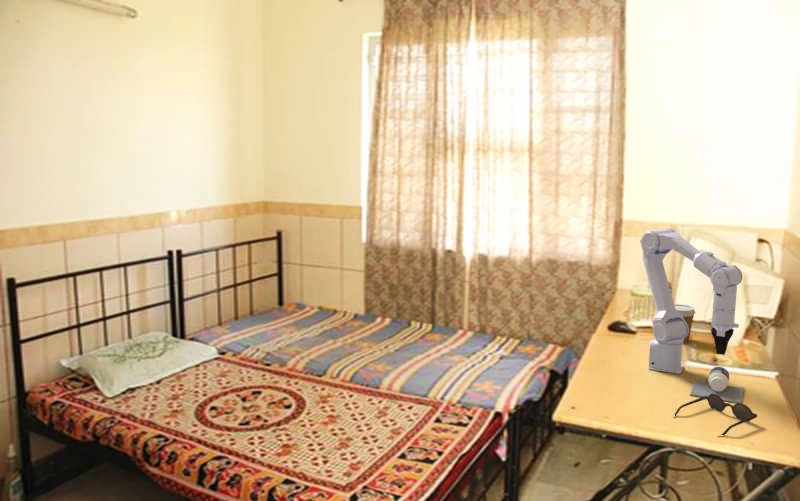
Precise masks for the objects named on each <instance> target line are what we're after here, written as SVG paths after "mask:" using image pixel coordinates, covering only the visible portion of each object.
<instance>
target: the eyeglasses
mask: <svg viewBox="0 0 800 501" xmlns="http://www.w3.org/2000/svg"><path fill="white" fill-rule="evenodd" d="M704 400H706V401H707V403H708V405H709V407H710V408H711V409H713V410H715V409H716V410H715V411H717V410H718V411H717V412H719V411H720V413H723V411H724V410H725V409H726V407H730V408H731V411H732V414H733V416H734V417H735V418H737V419H740V421H737V422H735V423H733V424H731V425H730V426H728V427H727V428H726V429H725V430H724V431H723V432H722V433H721V434H720V435H724V436H725V435H727V433H728V432H729V431H730V430H731V429H732V428H735V427H737V426H738V425H741V424H743V423H746V422H750V421H751V420H754V419H756V418H757V417H758V414H757V413H754V412H753V411H752V409H751V408H750V407H749V406H748V405H746V403H745V404H744V403H743V402H742V403H734V405H732V404H730V402H725V401H723V400H722V399H721V397H720V396H718V395H717V394H710V395H709V396H704V397H698V398H696V399H694V400H691V401H689V402H686V403H684V404H682V405H680V406H679V407H678V408H677V409H676V411H675V413H674V415H675V416H676V417H677V415H678V413H679V412H680V410H681V409H682V408H684V407H688V406H690V405H692V404H696V403H699V402H701V401H704Z"/></svg>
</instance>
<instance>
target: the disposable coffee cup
mask: <svg viewBox="0 0 800 501" xmlns="http://www.w3.org/2000/svg"><path fill="white" fill-rule="evenodd" d="M674 306H675V309H676V310H677V311H679V312H680V313H681V314H682V315H683V318H684V320H685V321H686V323H687V324H688V327H689V333H688V335H687V337H685V338H684V341H683V344H685V343H688V342H689V340H690V334H691V331H692V327H693V326H692V325H693V322H694V317H695V314H696V311H695V308H694V306H691V305H687V304H681V303H680V304H679V303H678V304H677V303H676V304H675V303H674ZM667 321H670V320H669V319H667Z"/></svg>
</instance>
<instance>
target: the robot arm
mask: <svg viewBox="0 0 800 501" xmlns="http://www.w3.org/2000/svg"><path fill="white" fill-rule="evenodd" d="M639 242H640V244H641V249H642V261H643V265H644V268H645V271H646V272H645V273H646V275H647V280H648V283H649V288H650V291H651V294H652V298H653V302H654V305H655V310H656V314H654V317H653V318H652V320H651V321H652V325H653V326H652V334H653V336H654V338H652V339H651V340H650V344H649V352H648V353H649V354H648V355H649V356H648V370H652V371H659V372H665V373H671V374H672V373H673V374H677V375H678V374H679V375H680V374H682V372H683V369H684V366H685V365H684V364H682V358H683V344H684V343H683V341H684V338H685V337H687V335H688V333H689V327H688V324H687V323H686V321H685V320H684V318H683V315H682V314H681V313H680V312H679V311H677V310H676V309H675V306H674V304H675V303H674V300H673V299H674V298H673V295H672V291H671V289H670V288H671V287H670V284H669V281H668V277H667V273H666V269H665V266H664V262H663V261H664V259H665V257H666V256H667V255H668V254H669V253H670V252H671V251H672V250H673V251H675V252H676V253H678V254H680V255H681V256H683V257H684V258H686V259H688V260H690V261H691V262H692V263H693V267H694V268H695V269H696V270H698V271H700V272H701V273H702V274H703V275H705V276H707V277H708V278H709V279H710V282H711V284H712V288H713V289H712V291H713V304H712V318H711V322H710V324H711V326H712V328H711V330H710V333H711V335H712V338H713V339H714V340H713V341H714V345H715V353H716V354H717V355H723V356H725V354H726V352H727V348H728V345H729V342H730V340H731V338H732V337H733V335H734V328H736V329H738V328H739V323H735V319H736V318H735V316H736V307H737V292H738V285H740V284H741V283H742V281H743V273H742V271H741V269H740V268H739V267H738V266H736V265H734V264H730V265H728V264H727V262H726V261H722V260H720V259H719V258H718V257H716V256H715V255H714V253H713V252H712V251H702V252H701V251H700V250H699V249H698V248H696V247H694V246H693V245H692V244H691V243H690V242H688V240H686V239H684V238H683V237H682V236H681V234H680V232H678V231H676V230H675V229H673V228H664V229H658V230H647V231H645V232H644V234H643V235H642V237H641V239H640V241H639ZM668 319H669V320H670V321H668Z"/></svg>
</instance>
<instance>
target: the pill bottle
mask: <svg viewBox="0 0 800 501" xmlns="http://www.w3.org/2000/svg"><path fill="white" fill-rule="evenodd" d="M708 374H709V375H708V381H707V382H709V385H710V386H711V388H712V389H713V390H715V391H718V392H720V391H723V390H724V389H726V388H727V386H728V385H729V384H730V373H729V371H728V369H726V368H725V367H723V366H715V367H713V368H711V369H710V371H709V373H708Z"/></svg>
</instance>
